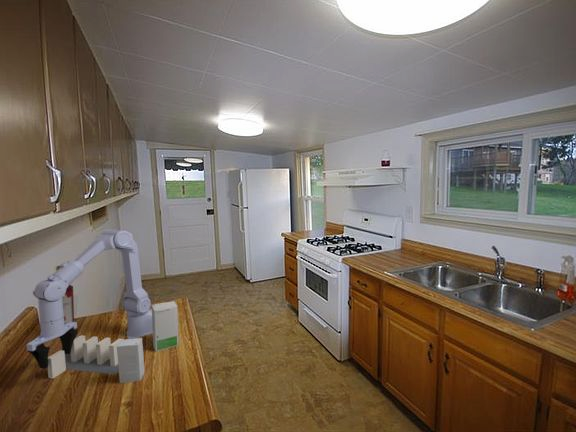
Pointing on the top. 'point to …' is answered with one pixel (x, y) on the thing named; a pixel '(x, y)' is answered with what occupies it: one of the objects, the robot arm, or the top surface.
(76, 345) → the domino
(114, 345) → the domino
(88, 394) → the top surface
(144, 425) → the top surface
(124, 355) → the skincare box
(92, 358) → the domino
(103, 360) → the domino
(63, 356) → the domino
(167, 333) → the skincare box
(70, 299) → the liquor
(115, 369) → the runner mat
